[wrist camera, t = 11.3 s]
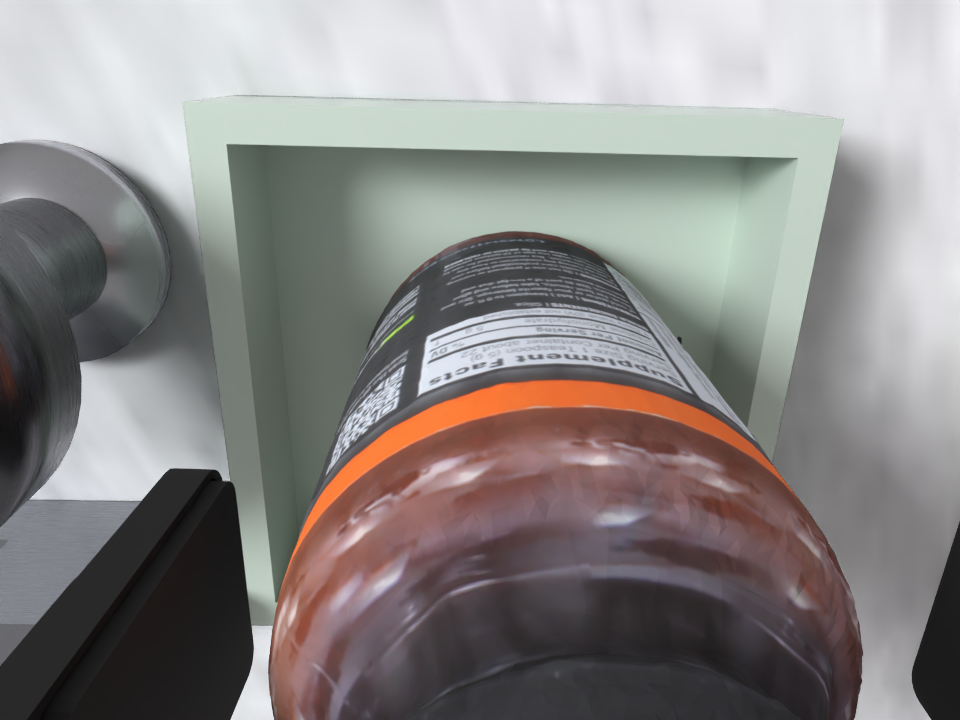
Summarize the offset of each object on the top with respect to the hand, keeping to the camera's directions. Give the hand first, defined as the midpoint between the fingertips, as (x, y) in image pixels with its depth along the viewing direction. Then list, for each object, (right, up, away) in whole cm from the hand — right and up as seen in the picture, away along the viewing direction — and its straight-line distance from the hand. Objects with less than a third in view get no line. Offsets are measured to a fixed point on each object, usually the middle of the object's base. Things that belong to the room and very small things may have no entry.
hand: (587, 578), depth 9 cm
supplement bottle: (-1, +3, +6) cm, 7 cm away
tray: (-1, +3, +6) cm, 7 cm away
